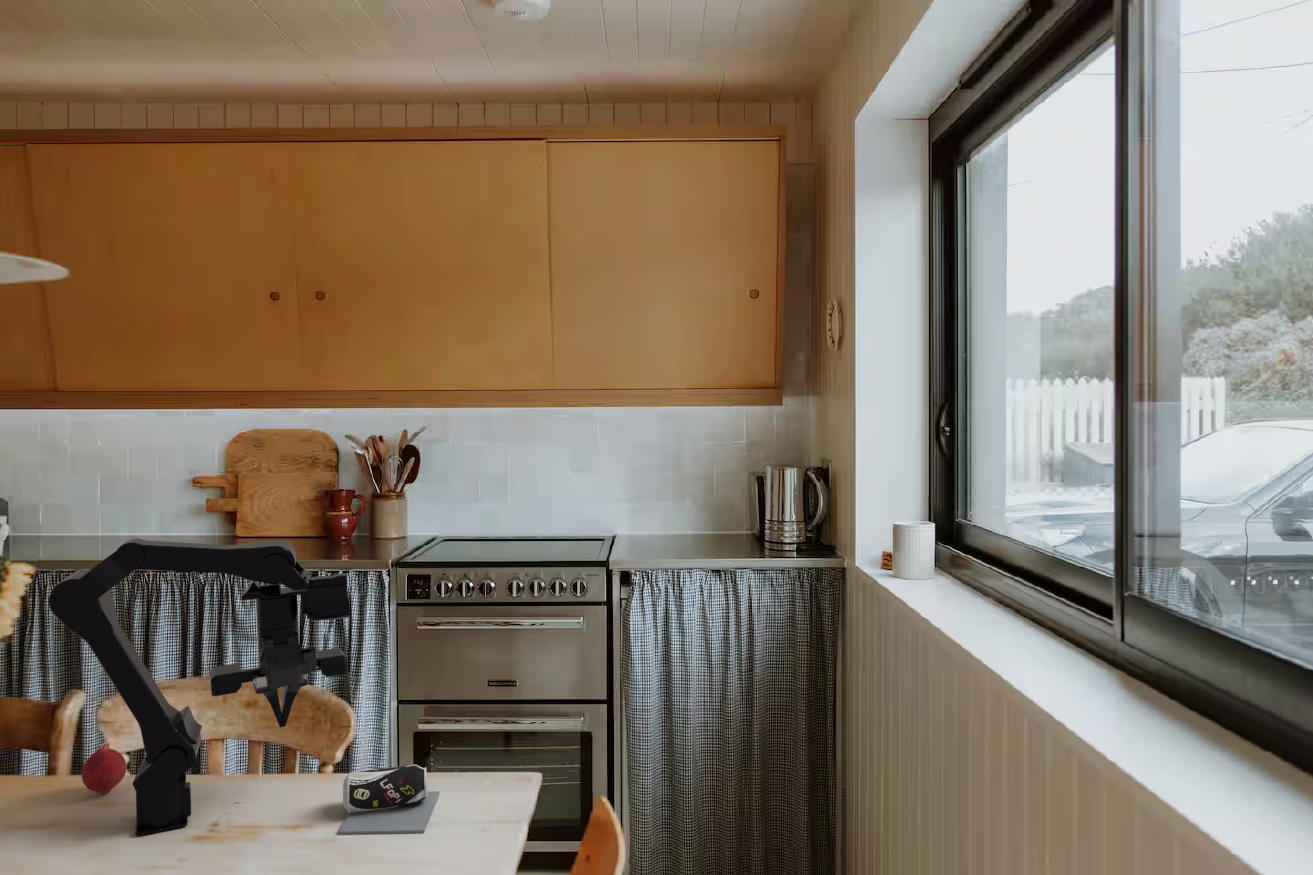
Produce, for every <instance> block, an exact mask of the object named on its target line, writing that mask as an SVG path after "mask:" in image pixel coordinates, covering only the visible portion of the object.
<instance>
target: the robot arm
mask: <svg viewBox="0 0 1313 875" xmlns="http://www.w3.org/2000/svg"><path fill="white" fill-rule="evenodd" d="M139 570H142V571H143V570H145V571H164V572H165V571H166V572H167V571H168V572H188V573H189V572H190V573H212V574H227V575H230V576H231V575H232V576H235V577H239V578H242V579H244V580H247V581H251V583H250V585H248V587H247V588H246V589H245V590H243V591H242V594H241V597H240V598H241V600H242V601H250V600H255V611H256V632H257V633H256V634H257V636H256V637H257V652H258V653H257V656H258V667H252V668H244V669H241V667H240V664H239V662H237V663H233V664H226V665H219V666H213V667H212V668H211V670H210V671H209V687H210V693H211V696H212V697H219V696H225V695H231V694H236V693H238V691H240V689H241V688H242V686H243V684H245V683H251V682H252V686H253V690H254V693H255V694H256V695H261V694H263V695H264V697H265V698H266V700H267V701H268V703H269V705H270V706H271V709H272V712H273V714H274V716H275V719H276V721H277V725H278V727H279V728H284V727H285V728H286V726H287V722H288V720H289V715H290V714H291V710H292V707H293V703H294V701H295V699H296V696H297V694H298V693H299V691H300V690H301V688H302V687H306V686H308V685H309V680H308V678H307V676H308V675H309V674H312V672H317V671H320V673H321V674H322V675H324V676H325V677H327V678H329V677H336V676H341V675H346V674H348V673H349V664H348V657H347V656H346V654H345V652H344V651H343V650H342V649H340V648H339V647H335V648H328V649H322V650H316V648H315V646H312V647H311V646H310V647H305V648H302V647H301V645H300V631H299V630H300V628H299V625H300V624H299V609H298V608H299V605H298V604H299V603H298V596H300V595H301V599H302V600H301V602H302V603H301V604H302V616H305V617H306V618H307V619H310V622H311V623H312V622H320V621H322V622H323V621H330V620H331V621H332V620H340V619H349V618H351V616H350V614H351V612H350V611H351V610H350V608H351V606H350V595H349V594H350V593H349V590H348V577H347V576H348V575H347V573H345V572H342V573H335V574H333V575H324V576H323V575H322V576H313V577H311V576H310V573H309V572H308V571H307V569H305V568H304V567H303V566H302V565H301V564H300V563H299V562H298V561H297V554H296V551H295V548H294V547H293V546H292V545H291V544H290V543H289V542H288V541H286V540H283V539H276V538H275V539H265V540H255V541H250V542H244V543H238V544H237V543H236V544H217V543H216V544H215V543H213V544H212V543H197V542H196V543H195V542H180V541H178V542H177V541H159V540H147V539H143V538H138V537H137V538H130V539H128V540H126V541H125V542H124V543H122V544H121V545H120V546H118V547H117V549H116V550H115V551H114V552H112V553H111V554H110V555H108V556H107V557H105V558H104V559H103V560H102V561H100V562H98V563H97V564H96V565H94V566H93V567H92V568H90V569H88V570H86V569H83V570H82V569H81V570H78V571H74V572H72V573H71V574H69V575H68V576H67V577H66V578H63V579H62V580H61V581H60V582H58V584H56V585H55V587H53V588H52V590H51V592H50V593H49V594H50V595H49V596H48V602H47V603H48V607H49V610H50V611H51V613H52V614H53V615H54V616H55V617H56V618H57V619H58V621H60V622H61V623H62V624H63V625H64V627H66V628H67V630H69V631H70V632H72V633H73V634H75V635H76V636H77V637H78V638H81V639H82V640H84V641H85V642H86V643H87V644H88V646H89V648H90V650H91V651H92V653H93V654H94V656H95V657H96V659H97V661H98V662H99V664H100V665H101V667H102V669H103V670H104V671H105V673H106V675H107V676H108V678H109V679H110V681H111V683H112V684H113V685H114V687H115V689H116V690H117V693H119V695H120V697H121V698H122V700H123V702H124V703H125V704H126V706H127V708H128V709H129V711H130V712H131V714H132V715H133V718H134V719H135V721H136V722H137V724H138V727H139V730H140V733H141V738H142V739H141V740H142V743H143V748H144V752H145V754H146V756H144V758H143V760H142V761H141V764H140V766H139V768H138V771H137V773H136V774H135V777H134V779H133V781H132V786H133V789H134V790H135V808H136V810H135V811H136V812H135V813H136V814H135V815H136V817H135V818H136V819H135V820H136V821H135V830H134V835H135V837H140V836H145V835H151V834H155V833H160V832H164V831H169V830H170V831H171V830H174V829H179V828H184V827H186V826H188V825H189V824H188V822H189V820H188V817H189V818H190V816H191V815H192V797H191V796H192V794H191V793H192V789H191V784H192V783H191V782H190V781H187V775H186V774H187V772H188V771H190V770H191V768H192V767H193V765H194V764H195V761H196V758H197V755H198V752H199V749H200V745H201V744H202V735H201V732H202V731H201V730H202V728H203V725H202V724H200V723H199V722H197V720H196V719H195V717H194V715H193V713H192V710H191V707H190V706H189V705H187V706H185V707H184V708H182V709H181V710H179V709H177V708H176V707H174V706H172V705H171V704H170V703H169V702H168V700H167V699H166V698H165V696H164V694H163V692H162V691H161V689H160V688H159V686H158V684H157V683H156V681H155V679H154V678H153V676H152V675H151V673H150V671H149V670H148V668H147V666H146V665H145V664H144V662H143V660H142V658H141V657H140V655H139V653H138V652H137V651H136V649H135V647H134V646H133V644H132V643H131V641H130V639H129V637H128V636H127V634H126V632H125V631H124V630H123V628H122V627H121V625H120V622H119V619H118V614H117V611H116V610H117V609H116V605H115V600H114V598H113V595H112V592H111V589H113V587H115V586H117V585H118V584H119V583H121V581H122V580H124V579H125V578H127V576H129V575H130V574H132V573H133V572H134V571H139ZM260 583H262V584H260ZM282 586H285V587H282ZM281 688H282V692H281V693H282V694H281V695H282V696H281V704H280V698H279V697H280V696H279V691H278V690H279V689H281Z"/></svg>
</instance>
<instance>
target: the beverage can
mask: <svg viewBox="0 0 1313 875" xmlns="http://www.w3.org/2000/svg"><path fill="white" fill-rule="evenodd" d="M427 792H428V774H427V766H426V767H421V766H420V765H418V764H410V765H401V766H395V767H393V766H392V767H384V768H379V769H378V768H377V769H368V770H362V771H361V770H360V771H354V772H353V771H352V772H349V773H348V774H347V776H346V778H344V779H343V785H342V803H343V809H345V810H346V811H347V813H348V814H349V813H358V812H365V811H373V810H381V809H388V808H395V807H403V806H410V805H416V804H418V803H419V802H421V801H422V800H423V799H427Z"/></svg>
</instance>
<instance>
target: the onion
mask: <svg viewBox="0 0 1313 875" xmlns="http://www.w3.org/2000/svg"><path fill="white" fill-rule="evenodd" d="M126 762H127V761H126V760H125V757H124V756H123V755H122V754H121V753H120V751H117V750H115V749H113V748H110V743H109V742H103V743H102V744H100V746H99V747H98V749H97V750H96V751H95V752H93V753H92V754H91V755H90V756H89V757H88V758H87V759H86V761H85V763H84V764H83V766H82V770H81V780H82V783H83V785H84V786H85V787H86V788H87V789H89V790H90V791H92V792H95V793H97V794H101V795H107V794H109V793H110V792H111V791H112V790H113V789H114V788H115V787H117V786H118V785H119V784H120V783H121V782H122V780H123V779H124V777H125V776H126V773H127V763H126Z"/></svg>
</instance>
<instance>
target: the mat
mask: <svg viewBox="0 0 1313 875" xmlns="http://www.w3.org/2000/svg"><path fill="white" fill-rule="evenodd" d="M440 793H441V792H440V791H439V790H438V791H436V790H435V791H427V799H423V800H422V801H421V802H419V803H418V804H416V805H410V806H403V807H395V808H388V809H381V810H373V811H365V812H358V813H348V815H347V817H346V819H345V820H344V822H343V824H342V825H341V827H340V828H339V830H338V835H374V834H375V833H376V834H375V835H378V833H379V835H380V834H381V835H382V834H388V835H389V834H390V835H391V834H425V832H426V830H427V827H428V824H429V822H430V818H431V816H432V814H433V812H434V809H435V806H436V804H437V802H438V799H439V796H440Z"/></svg>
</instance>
